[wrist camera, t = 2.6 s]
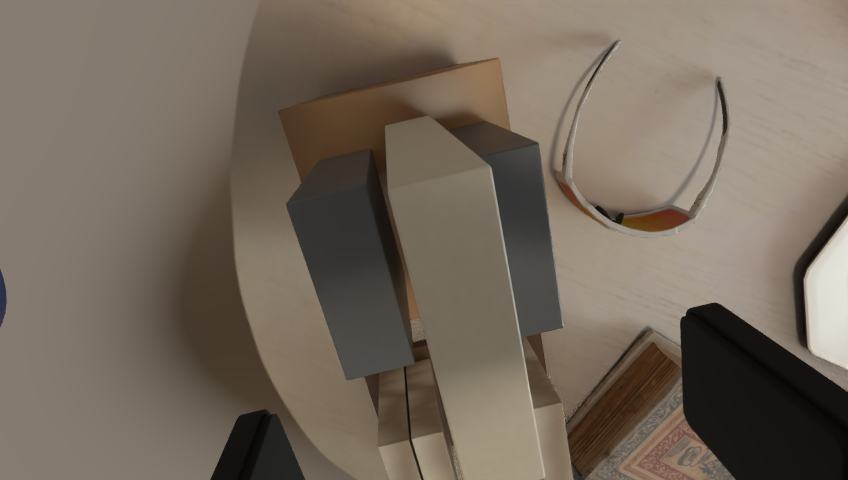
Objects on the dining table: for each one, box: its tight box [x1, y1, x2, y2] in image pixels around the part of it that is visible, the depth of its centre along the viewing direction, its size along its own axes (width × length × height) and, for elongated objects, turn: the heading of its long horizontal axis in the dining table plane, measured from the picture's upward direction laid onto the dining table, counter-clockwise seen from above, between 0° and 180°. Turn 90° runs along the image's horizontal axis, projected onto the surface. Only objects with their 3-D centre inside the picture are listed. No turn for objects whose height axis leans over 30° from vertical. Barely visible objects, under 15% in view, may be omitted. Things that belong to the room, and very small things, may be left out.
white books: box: [365, 333, 573, 480], centre depth 43 cm, size 18×13×11 cm
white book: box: [385, 115, 545, 480], centre depth 19 cm, size 2×10×15 cm, turn 13°
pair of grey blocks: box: [286, 121, 563, 380], centre depth 22 cm, size 10×8×9 cm
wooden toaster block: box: [279, 58, 511, 320], centre depth 33 cm, size 12×14×14 cm
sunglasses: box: [556, 40, 731, 238], centre depth 39 cm, size 14×15×5 cm
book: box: [566, 329, 735, 480], centre depth 49 cm, size 17×7×25 cm
